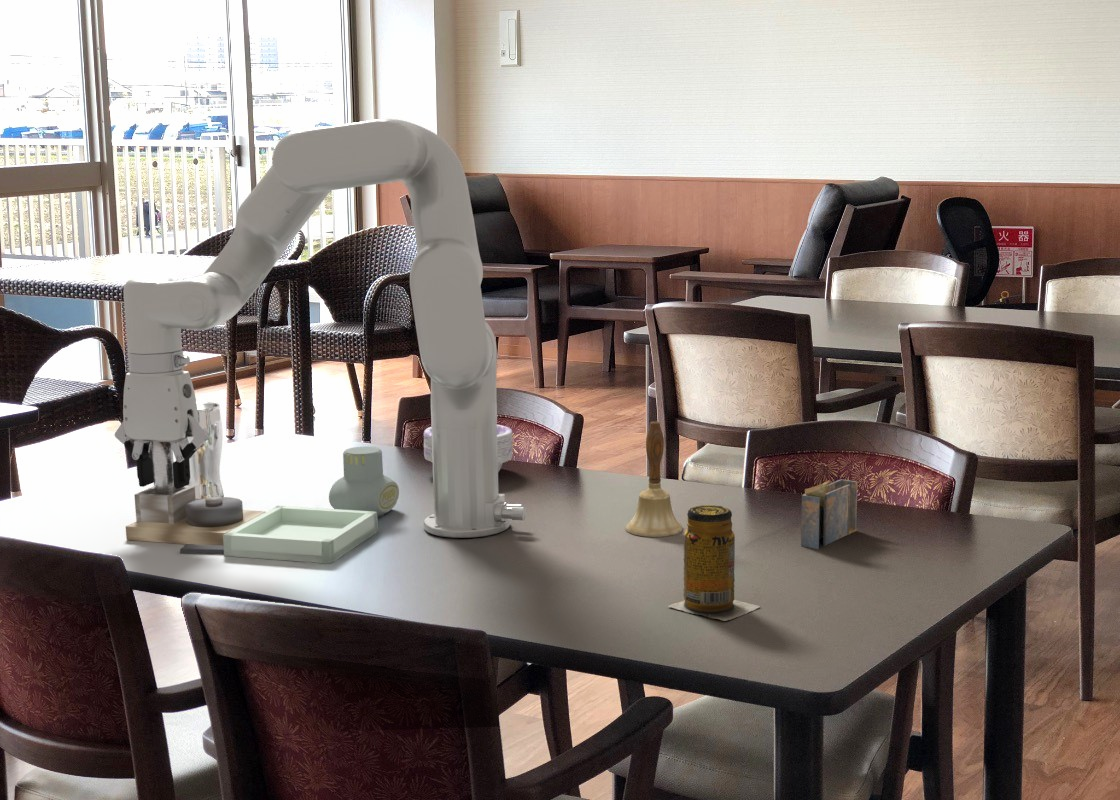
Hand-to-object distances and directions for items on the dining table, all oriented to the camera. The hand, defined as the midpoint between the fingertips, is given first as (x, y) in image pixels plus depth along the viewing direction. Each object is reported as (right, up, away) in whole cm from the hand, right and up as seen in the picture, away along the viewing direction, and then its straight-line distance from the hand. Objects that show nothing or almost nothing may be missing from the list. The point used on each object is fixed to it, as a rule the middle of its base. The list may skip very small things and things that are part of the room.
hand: (164, 484), depth 198 cm
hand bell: (+72, -7, -2) cm, 72 cm away
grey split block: (+96, -8, -8) cm, 97 cm away
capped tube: (0, -5, +1) cm, 5 cm away
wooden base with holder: (+5, -7, 0) cm, 9 cm away
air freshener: (+28, -5, +9) cm, 30 cm away
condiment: (+77, -13, -36) cm, 86 cm away
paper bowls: (+43, -1, +33) cm, 54 cm away
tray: (+22, -8, -7) cm, 24 cm away
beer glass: (0, -3, +21) cm, 21 cm away
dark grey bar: (+12, -9, -10) cm, 18 cm away
